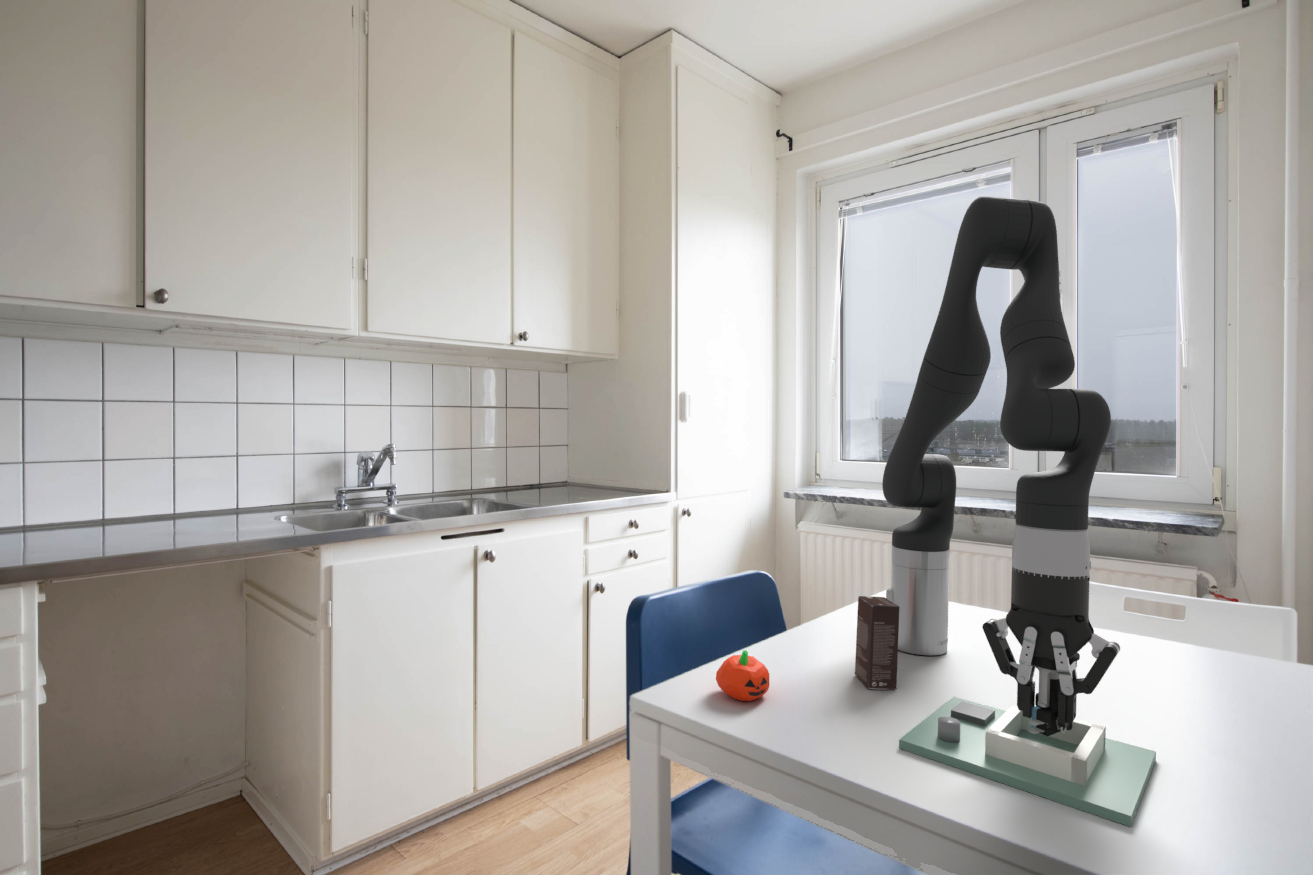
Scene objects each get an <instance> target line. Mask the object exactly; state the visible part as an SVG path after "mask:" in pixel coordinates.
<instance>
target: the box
mask: <svg viewBox="0 0 1313 875" xmlns="http://www.w3.org/2000/svg"><path fill="white" fill-rule="evenodd" d="M899 609H900V607H899V606H898V605H896V604H894V603H892V602H891V601H889V600H888V599H886V596H885V597H883V596H882V597H881V596H869V595H868V596H866V595H863V596H862V595H859V596H858V598H857V618H856V620H857V623H856V642H855V644H856V646H855V663H854V676H856V677H857V678H858V679H859V680H860V682H862V683H863V685H864V686H865V687H866V689H868V690H873V691H889V690H890V691H891V690H897V686H898V685H897V684H898V683H897V682H898V654H899V653H898V652H899V650H898V633H899Z"/></svg>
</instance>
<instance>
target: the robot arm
mask: <svg viewBox="0 0 1313 875" xmlns="http://www.w3.org/2000/svg"><path fill="white" fill-rule="evenodd" d="M1056 224H1057V223H1056V218H1055V214H1054V213H1053V210H1052V209H1051V207H1050V206H1049V205H1047V204H1046V203H1044V202H1042V201H1038V200H1031V199H1021V198H1012V197H1011V198H1009V197H1003V196H1002V197H1000V196H988V195H985V196H978V197H977V198H975V199H974V200H973V201H972V202H971V203H970V205H969V206H968V208H967V209H966V212H965V214H964V216H963V219H962V221H961V223H960V227H959V230H958V234H957V238H956V242H955V244H954V245H955V246H954V249H953V250H954V251H953V253H952V254H953V255H952V260H951V263H950V267H949V271H948V277H947V280H946V285H945V289H944V293H943V296H942V300H941V304H940V307H939V311H938V314H937V317H936V320H935V323H934V326H933V330H932V332H931V335H930V339H929V342H928V344H927V347H926V349H925V353H924V355H923V359H922V361H921V364H920V368H919V372H918V375H917V380H916V383H915V387H914V389H913V393H912V397H911V400H910V403H909V406H908V408H907V412H906V416H905V418H904V420H903V423H902V425H901V428H900V430H899V433H898V435H897V437H896V439H895V441H894V444H893V446H892V448H891V451H890V454H889V455H888V458H887V461H886V463H885V466H884V470H883V474H882V475H883V476H882V486H881V487H882V493H883V496H884V499H885V500H886V501H887V503H889V504H890V505H891V506H894V507H898V508H908V509H909V508H919V509H920V513H919V514H918V516H917V517H916V518H914V519H913V520H912V521H909V522H908V523H906V524H902V525H900V526H897V527H896V528H894V530H892V534H891V574H890V575H891V576H890V580H891V581H890V588H888V589H886V593H885V598H886V599H888V600H889V601H891V602H892V603H894V604H896V605H898V606H899V607H900V609H899V633H898V651H901V652H903V653H908V654H914V655H918V656H940V655H944V654H947V652H948V642H949V636H948V635H949V634H948V633H949V632H948V631H949V601H950V600H949V596H950V593H949V589H950V588H949V587H950V586H949V585H950V553H951V552H950V549H951V545H950V544H951V538H952V536H953V533H954V532H953V531H954V525H955V524H954V521H955V509H956V495H957V474H956V469H955V466H954V464H953V462H952V460H951V459H950V458H949V457H948V456H946V455H943V454H939V453H938V454H935V453H934V454H933V453H927V450H928V449H929V447H930V446H931V444H932V443H933V441H934V440H936V438H937V437H938V436H939V435H940V434H941V433H942V432H943V431H944V430H945V429H947V427H949V426H950V425H951V424H952V423H953V422H954V421H956V420H957V419H958V418H959V417H960V416H961V415H962V414H963V413H964V412H966V411H967V410H968V409H969V408H970V406H971V405H973V403H974V402H975V400H976V399H977V397H978V395H979V393H980V390H981V388H982V385H983V383H984V380H985V378H986V375H987V371H988V369H989V366H990V364H991V345H990V342H989V339H988V335H987V333H986V330H985V327H984V324H983V321H982V318H981V316H980V311H979V306H978V302H977V286H978V281H979V277H980V273H981V271H982V269H983V267H984V268H989V269H990V268H991V269H1000V270H1001V269H1002V270H1013V271H1015V270H1018V271H1020V272H1021V275H1022V277H1023V280H1024V281H1023V282H1024V283H1023V285H1022V286H1021V288H1020V289H1019V291H1018V292H1017V293H1016V295H1015V296H1014V297H1013V299H1012V300H1011V302H1010V303H1009V305H1008V306H1007V308H1006V309H1005V312H1004V314H1003V316H1002V319H1001V323H1000V328H999V329H1000V330H999V334H1000V342H1001V348H1002V352H1003V353H1002V354H1003V358H1004V363H1005V368H1006V369H1005V370H1006V386H1005V387H1006V388H1005V394H1004V401H1003V405H1002V408H1001V409H1002V410H1001V414H1000V423H999V427H1000V428H999V429H1000V431H1001V435H1002V437H1003V438H1004V440H1005V441H1006V442H1007V443H1008V444H1009V445H1010V446H1011V447H1012V448H1014V449H1017V450H1019V451H1024V452H1025V451H1028V452H1064V453H1063V456H1062V458H1061V460H1060V461H1059V463H1058V464H1057V465H1056V466H1055V467H1053V468H1051V469H1048V470H1043V471H1035V472H1030V473H1026V474H1023V475H1022V476H1020V477H1019V478H1018V480H1017V482H1016V489H1015V490H1016V492H1015V500H1016V501H1015V525H1014V531H1013V532H1014V534H1013V538H1012V547H1011V582H1010V583H1011V588H1010V589H1011V591H1010V608H1009V610H1008V612H1007V614H1006V616H1005V617H1004V618H999V619H996V618H990V619H989V620H987V621H986V622H985V623H983V624H982V631H983V633H984V635H985V638H986V640H987V642H988V645H989V647H990V649H991V652H992V654H993V656H994V658H995V662H996V664H997V666H998V668H999V669H998V670H999V671H1000V672H1001V673H1002V674H1004V675H1008V676H1010V677H1012V678H1013V679H1014V680H1015V681H1016V684H1017V691H1016V703H1017V706H1018V709H1019V710H1021V711H1023V717H1027V718H1031V717H1032V708H1033V707H1035V706H1036V705H1035V696H1036V681H1035V680H1034V679H1033V678H1034V676H1035V672H1036V669H1037V668H1036V667H1035V665H1033V664H1034V661H1035V658H1034V656H1035V657H1047V658H1049V659H1051V660H1054V661H1055V662H1056V669H1057V672H1058V674H1059V680H1060V686H1061V691H1060V693H1059V694H1058V726H1060V727H1063V728H1066V727H1067V726H1068V724H1072V722H1073V721H1074V719H1076V717H1077V696H1078V695H1079V694H1085V695H1091V694H1092V693H1093V692H1094V691H1095V689H1096V688H1097V687H1098V685H1099V683H1100V682H1101V680H1102V679H1103V677H1104V675H1105V674H1106V672H1107V671H1108V670H1109V668H1110V666H1111V665H1112V663H1113V662H1114V660H1115V659H1116V657H1117V656H1118V654H1119V652H1120V651H1121V646H1120V645H1119V643H1117V642H1115V641H1109V640H1106V639H1104V638H1103V637H1102V636H1099V635H1098V634H1095V631H1094V628H1093V626H1092V623H1091V622H1090V615H1089V613H1090V612H1089V611H1090V609H1089V608H1090V581H1091V580H1090V579H1091V578H1090V573H1091V572H1090V571H1091V570H1092V560H1091V546H1090V539H1089V530H1088V529H1089V505H1090V504H1089V501H1090V499H1089V498H1090V492H1091V486H1092V482H1093V479H1094V475H1095V472H1096V469H1097V465H1098V462H1099V460H1100V457H1101V455H1102V452H1103V449H1104V446H1105V443H1107V442H1106V441H1107V439H1108V436H1109V433H1110V429H1111V428H1110V427H1111V421H1112V414H1111V410H1110V407H1109V404H1108V402H1107V401H1106V399H1105V397H1103V396H1102V395H1101V394H1100V393H1099V392H1098V391H1095V390H1092V389H1088V388H1055V387H1058V386H1059V385H1062V384H1064V383H1065V382H1066V381H1068V380H1069V378H1070V377H1072V375H1073V374H1074V371H1075V367H1076V363H1075V356H1074V353H1073V352H1074V351H1073V349H1072V345H1071V341H1070V338H1069V333H1068V330H1067V327H1066V323H1065V321H1064V320H1065V319H1064V314H1063V312H1062V311H1063V310H1062V304H1061V298H1060V296H1061V295H1060V293H1061V291H1060V267H1059V266H1060V265H1059V264H1060V262H1059V246H1058V244H1059V243H1058V231H1057V225H1056ZM1008 628H1009V629H1010V631H1011V632H1012V634H1013V635H1014V637H1015V638H1016V641H1018V643H1019V644H1020V647H1021V650H1020V655H1019V659H1018V660H1019V661H1018V662H1019V663H1017V661H1016V659H1015V657H1014V653H1013V652H1012V650H1011V648H1010V647H1011V646H1010V644H1009V643H1008V640H1007V637H1008V634H1009V630H1008ZM1088 643H1089V644H1090V645H1091V647H1092V649H1091V652H1090V653H1091V655H1092V657H1093V658H1095V661H1094V663H1093V665H1092V666H1091V667H1090V669H1089V670H1088V672H1087V674H1086V675H1085V677H1083V678H1082V677H1079V678H1078V674H1077V667H1076V661H1075V662H1070V663H1069V659H1071V658H1072V657H1074V656H1075V654H1076V653H1079V652H1080V650H1082V649H1083V648H1084V647H1085V646H1086V645H1087V644H1088Z"/></svg>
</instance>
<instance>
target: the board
mask: <svg viewBox="0 0 1313 875" xmlns="http://www.w3.org/2000/svg"><path fill="white" fill-rule="evenodd" d="M1031 721H1032V717H1031V718H1027V717H1023V711H1021V710H1019V709H1018V706H1017V702H1014V703H1013V704H1012V705H1011V706H1010V707H1009V708H1008V709H1006V710H1004V709H1001V708H998V707H994V706H989V705H986V704H982V703H979V702H975V701H971V700H967V699H963V698H960V697H956V696H953V697H951V698H950V699H949V700H947V702H944V704H943V705H941V706H940V707H938V708H937V709H936V710H935V711H933V712H932V713H931V714H930V715H928V716H927V717H926V718H925V719H923V720H922V721H921V722H920V723H918V724H917V725H916V726H914V727H913V728H912V729H910V730H909V731H908V732H906V734H904V735H903V736H902V737H900V738H899V739H898V748H899V749H900V750H904V751H906V752H909V753H913V754H916V755H919V756H921V757H924V758H927V759H930V760H933V761H936V762H939V763H942V764H945V765H947V766H950V767H954V768H956V769H960V770H962V771H966V772H967V773H971V774H974V775H977V776H980V777H983V778H986V779H989V780H992V781H995V782H998V783H1000V784H1004V785H1006V786H1010V787H1012V788H1014V789H1015V788H1016V789H1018V790H1021V791H1025V792H1027V793H1031V794H1033V795H1036V796H1039V797H1042V798H1045V799H1048V800H1050V801H1053V802H1056V803H1059V804H1062V805H1065V806H1068V807H1071V808H1073V809H1077V810H1080V811H1083V812H1086V813H1088V814H1092V815H1095V816H1098V817H1101V818H1104V819H1106V820H1109V821H1112V822H1115V823H1118V824H1121V825H1124V826H1127V827H1130V828H1131V827H1132V825H1133V822H1134V820H1135V818H1136V815H1137V811H1138V809H1139V806H1140V804H1141V801H1142V798H1143V796H1144V793H1145V790H1146V788H1147V785H1148V782H1149V780H1150V777H1151V774H1152V771H1153V769H1154V766H1155V763H1156V762H1157V761H1156V760H1157V756H1156V755H1157V751H1155V750H1153V749H1148V748H1144V747H1141V746H1140V747H1139V746H1138V745H1137V746H1136V745H1133V744H1129V743H1125V742H1123V741H1118V740H1115V739H1112V738H1108V737H1106V736H1107V735H1106V731H1107V729H1106V725H1101V724H1097V723H1093V722H1090V721H1086V720H1081V719H1078V718H1075V719H1074V721H1073V722H1072V729H1071V730H1069V731H1068V730H1066V733H1063V734H1061V733H1060V732H1061V731H1060V732H1058V733H1055V734H1053V735H1050V736H1045V735H1043V734H1040V733H1037V734H1033V733H1031V732H1029V731H1028V730H1031V729H1032V725H1031V724H1029V723H1028V722H1031ZM1033 732H1035V731H1033Z"/></svg>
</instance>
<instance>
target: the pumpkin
mask: <svg viewBox="0 0 1313 875" xmlns="http://www.w3.org/2000/svg"><path fill="white" fill-rule="evenodd" d="M748 653H749V652H748V651H747V649H745V650H742V653H741V654H734V655H732V656H730V657H728V658H726V659H725V660H724V661H722V663H721V665H720V667H719V668H718V670H717V671H716V675H715V680H716V683H717V686H718V687H719V688H720V690H721V691H722V692H724V693H725V694H726V695H728V696H729V697H730V698H733V699H735V700H737V699H738V701H740V700H741V701H742V702H751V701H755V700H757V699H759V698H761V697H763V696H764V695H766V694H767V692H768V691H769V688H770V672H769V670H768V668H767V666H765V664H764V663H762V661H760V660H759V659H757V658H756V657H755V656H752V655H749V654H748Z"/></svg>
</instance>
